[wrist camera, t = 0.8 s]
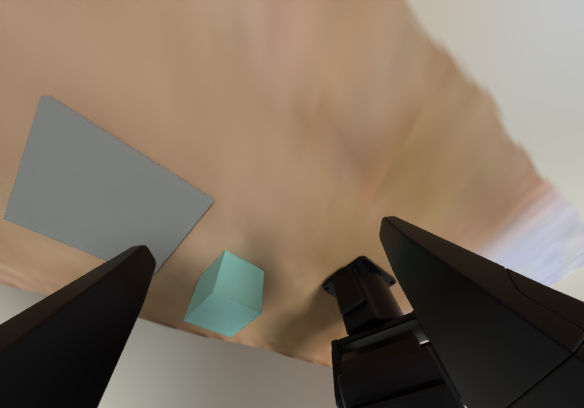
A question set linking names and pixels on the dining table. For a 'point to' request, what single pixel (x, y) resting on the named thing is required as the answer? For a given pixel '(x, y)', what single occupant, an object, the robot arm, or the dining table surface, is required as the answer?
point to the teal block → (227, 296)
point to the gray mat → (98, 190)
